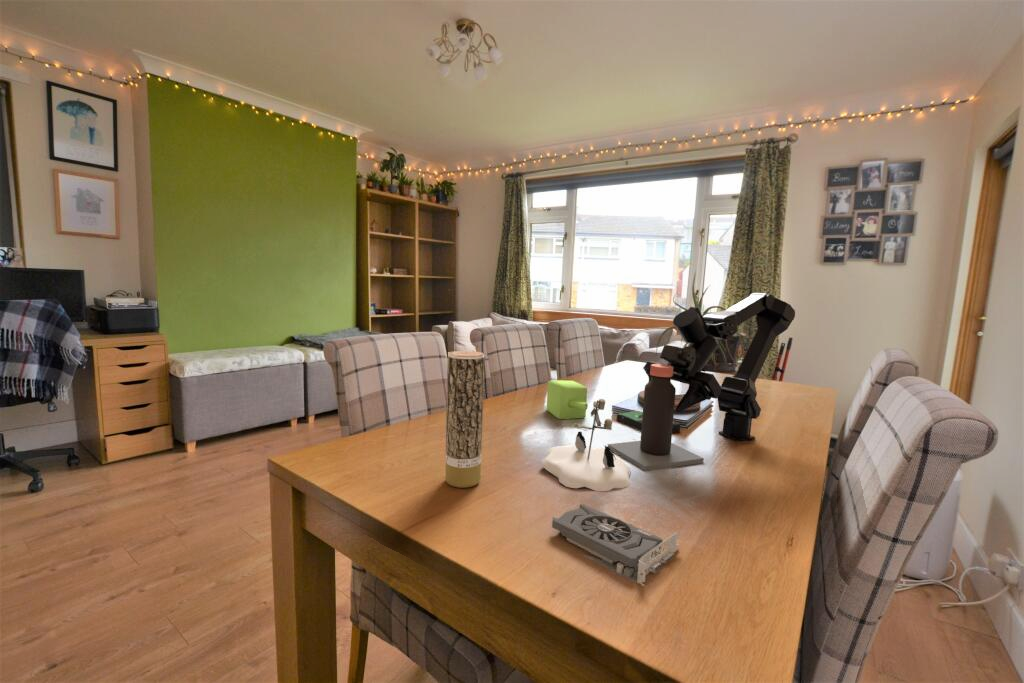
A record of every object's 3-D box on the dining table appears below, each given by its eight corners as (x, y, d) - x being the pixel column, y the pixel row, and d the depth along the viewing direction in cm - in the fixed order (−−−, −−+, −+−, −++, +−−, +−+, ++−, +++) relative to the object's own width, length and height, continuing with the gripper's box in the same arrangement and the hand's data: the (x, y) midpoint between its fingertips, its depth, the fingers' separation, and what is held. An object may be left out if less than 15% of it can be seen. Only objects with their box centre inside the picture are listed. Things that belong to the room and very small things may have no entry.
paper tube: (485, 477, 92) (489, 352, 89) (471, 492, 85) (475, 357, 82) (454, 472, 94) (457, 349, 91) (438, 485, 88) (441, 354, 85)
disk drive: (680, 433, 127) (642, 417, 140) (681, 423, 127) (643, 408, 140) (652, 438, 122) (615, 421, 135) (653, 427, 122) (616, 412, 135)
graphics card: (686, 533, 68) (644, 563, 60) (684, 557, 69) (642, 590, 60) (592, 494, 80) (546, 515, 72) (590, 515, 80) (544, 538, 72)
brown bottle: (654, 457, 103) (661, 369, 101) (633, 447, 109) (640, 363, 107) (676, 453, 106) (684, 367, 104) (655, 444, 112) (662, 362, 110)
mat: (661, 442, 117) (661, 438, 117) (703, 462, 104) (703, 458, 104) (607, 448, 111) (607, 444, 111) (644, 470, 98) (645, 466, 98)
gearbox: (597, 423, 132) (599, 390, 131) (565, 424, 129) (567, 391, 128) (572, 406, 149) (574, 377, 148) (543, 407, 146) (544, 377, 145)
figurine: (530, 452, 105) (536, 382, 101) (604, 448, 109) (612, 382, 106) (560, 500, 86) (568, 416, 83) (648, 493, 91) (660, 414, 87)
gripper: (651, 328, 115) (615, 376, 111) (717, 337, 100) (679, 393, 95) (670, 358, 120) (636, 404, 116) (737, 371, 105) (701, 425, 100)
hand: (660, 406), depth 107 cm, fingers open, 9 cm apart
